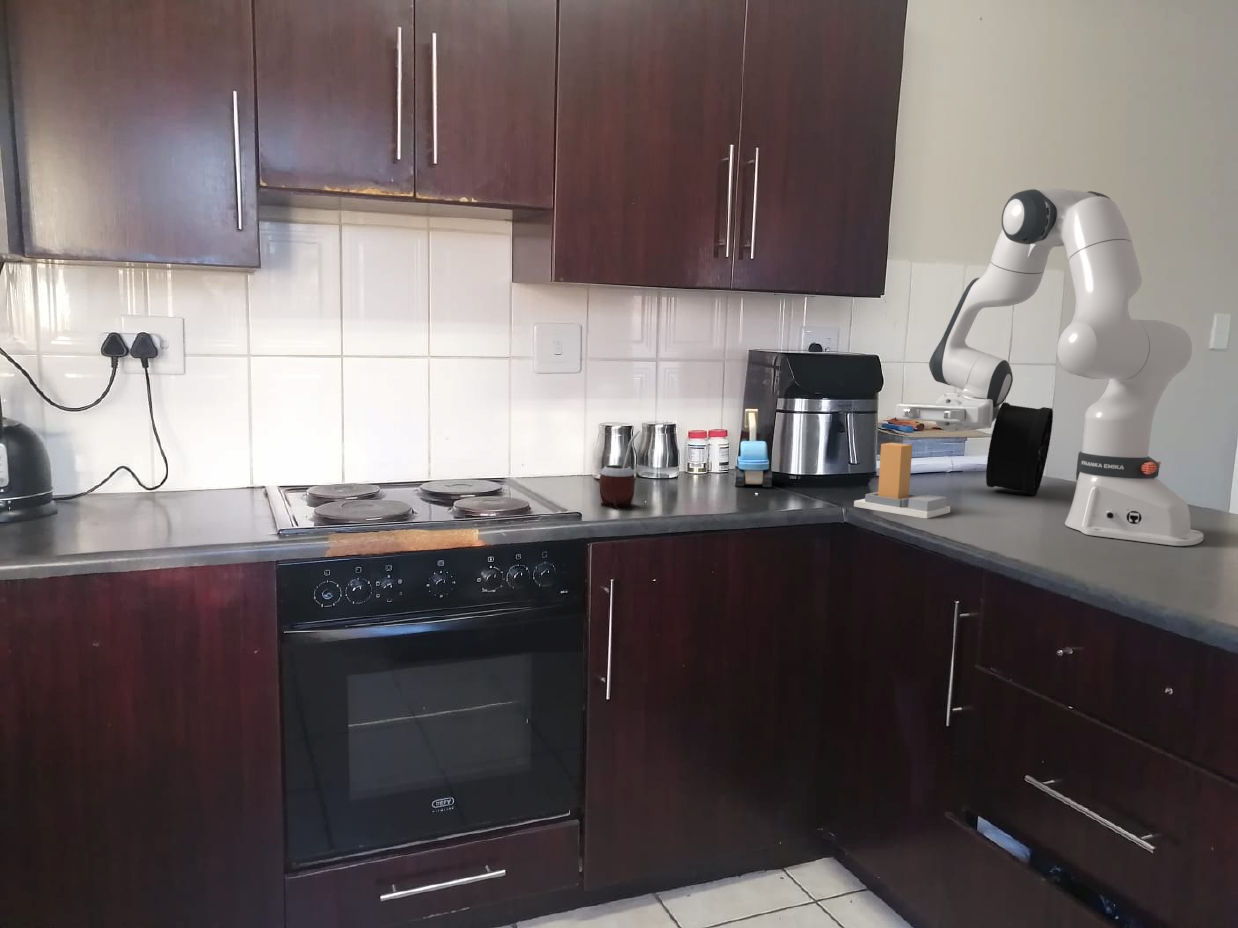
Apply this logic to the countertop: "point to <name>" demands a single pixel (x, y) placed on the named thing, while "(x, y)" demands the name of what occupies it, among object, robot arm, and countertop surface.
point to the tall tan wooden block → (895, 470)
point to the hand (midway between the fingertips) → (925, 414)
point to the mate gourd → (618, 483)
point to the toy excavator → (753, 457)
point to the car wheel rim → (1019, 448)
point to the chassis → (906, 505)
